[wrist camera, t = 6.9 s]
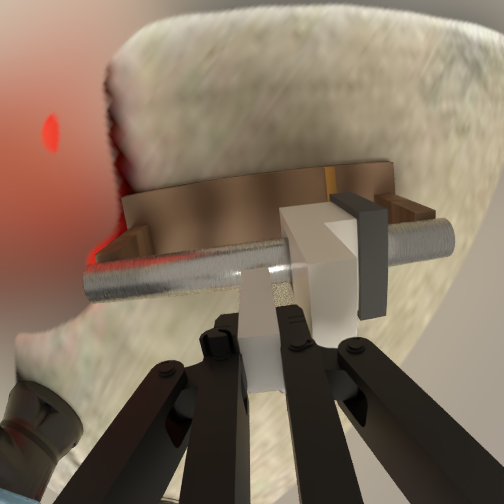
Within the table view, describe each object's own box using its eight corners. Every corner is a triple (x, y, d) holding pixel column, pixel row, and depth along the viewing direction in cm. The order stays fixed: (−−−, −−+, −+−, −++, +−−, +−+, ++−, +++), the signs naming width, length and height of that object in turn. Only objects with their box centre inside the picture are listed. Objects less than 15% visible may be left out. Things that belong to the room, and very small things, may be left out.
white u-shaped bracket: (287, 282, 26) (314, 382, 14) (278, 207, 24) (308, 264, 12) (335, 275, 25) (392, 366, 14) (331, 201, 24) (401, 251, 12)
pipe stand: (146, 282, 35) (113, 330, 25) (126, 195, 32) (79, 216, 22) (390, 250, 34) (436, 287, 24) (387, 161, 31) (439, 170, 21)
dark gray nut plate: (334, 278, 26) (360, 320, 19) (329, 194, 24) (359, 212, 17) (355, 275, 26) (385, 315, 19) (351, 191, 24) (387, 208, 17)
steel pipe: (107, 294, 24) (90, 313, 21) (95, 256, 23) (77, 271, 20) (433, 251, 24) (454, 264, 20) (434, 211, 22) (457, 221, 19)
